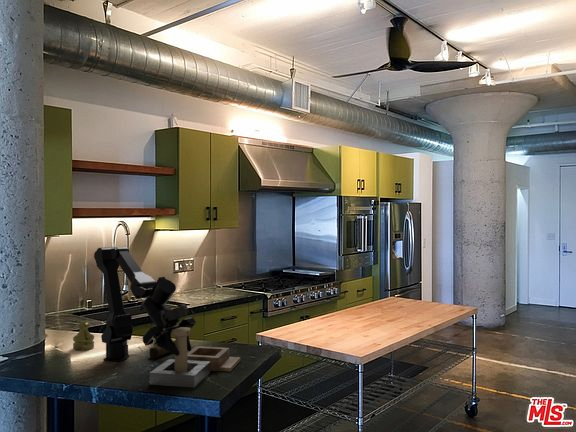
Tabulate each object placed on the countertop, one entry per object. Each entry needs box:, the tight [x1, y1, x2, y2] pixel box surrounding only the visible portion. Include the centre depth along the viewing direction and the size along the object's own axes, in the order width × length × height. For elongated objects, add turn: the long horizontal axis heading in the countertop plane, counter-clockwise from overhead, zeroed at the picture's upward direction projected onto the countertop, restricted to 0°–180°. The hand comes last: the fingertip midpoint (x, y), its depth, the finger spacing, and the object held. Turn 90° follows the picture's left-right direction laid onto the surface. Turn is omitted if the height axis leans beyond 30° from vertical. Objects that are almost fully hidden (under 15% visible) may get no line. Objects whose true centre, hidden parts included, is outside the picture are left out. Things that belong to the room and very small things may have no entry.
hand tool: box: [149, 339, 176, 359], centre depth 182 cm, size 19×4×5 cm, turn 150°
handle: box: [171, 327, 192, 372], centre depth 153 cm, size 5×6×15 cm
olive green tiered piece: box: [72, 321, 95, 352], centre depth 187 cm, size 7×8×10 cm
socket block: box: [149, 358, 211, 389], centre depth 153 cm, size 14×14×4 cm
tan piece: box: [187, 345, 242, 372], centre depth 167 cm, size 20×12×4 cm, turn 80°
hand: (184, 352), depth 152 cm, fingers closed on handle, 5 cm apart
